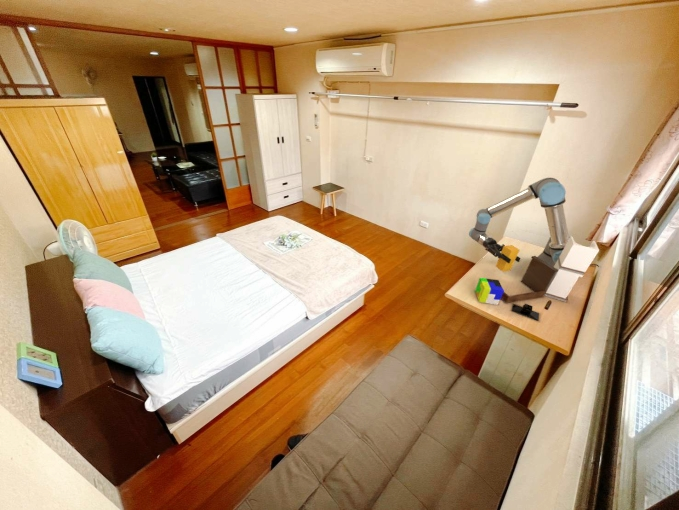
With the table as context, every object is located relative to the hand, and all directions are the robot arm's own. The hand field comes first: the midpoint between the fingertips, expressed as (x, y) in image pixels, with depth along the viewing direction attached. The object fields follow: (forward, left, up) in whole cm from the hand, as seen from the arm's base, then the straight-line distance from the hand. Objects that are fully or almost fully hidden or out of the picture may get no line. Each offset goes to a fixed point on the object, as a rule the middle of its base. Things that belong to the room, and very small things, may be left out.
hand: (514, 260), depth 157 cm
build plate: (+8, +24, -17) cm, 31 cm away
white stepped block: (-23, +15, -17) cm, 32 cm away
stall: (0, +9, -17) cm, 19 cm away
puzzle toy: (+21, +9, -17) cm, 29 cm away
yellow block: (0, -5, -9) cm, 10 cm away
